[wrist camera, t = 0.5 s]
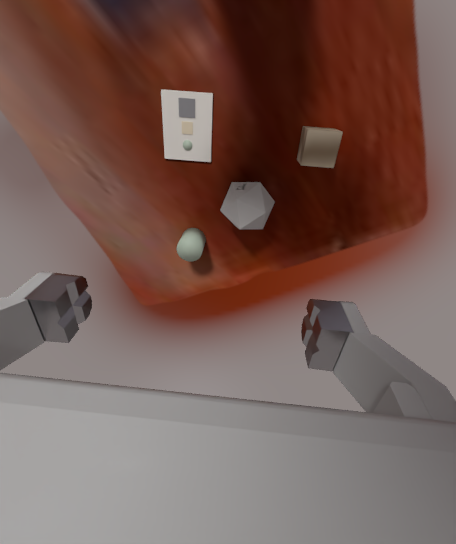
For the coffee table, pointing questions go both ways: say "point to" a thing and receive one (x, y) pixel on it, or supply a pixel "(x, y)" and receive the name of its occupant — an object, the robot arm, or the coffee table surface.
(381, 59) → the coffee table surface
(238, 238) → the coffee table surface
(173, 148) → the plan card
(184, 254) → the pale green rounded lump
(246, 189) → the die
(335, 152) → the birch block
